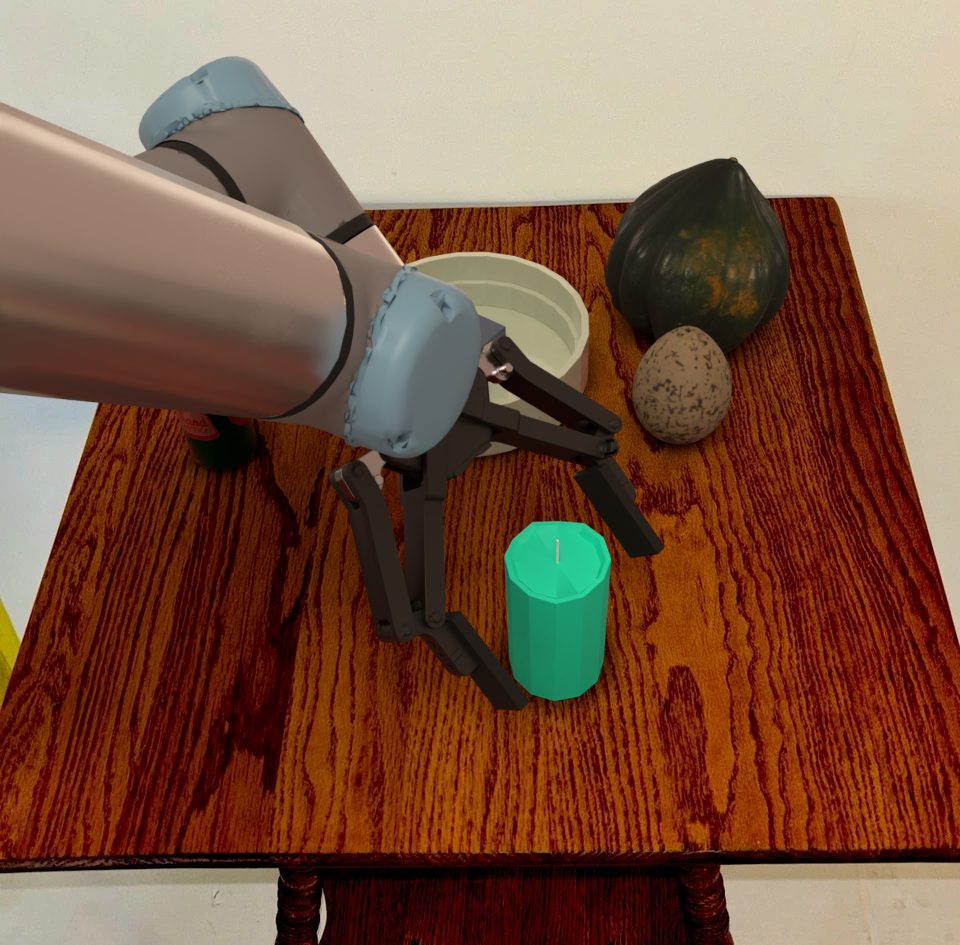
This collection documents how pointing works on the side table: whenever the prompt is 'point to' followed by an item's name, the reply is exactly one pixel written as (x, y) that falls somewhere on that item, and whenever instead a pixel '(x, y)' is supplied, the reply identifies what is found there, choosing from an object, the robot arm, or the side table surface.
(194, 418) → the soda can
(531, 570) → the candle
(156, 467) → the side table surface
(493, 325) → the block
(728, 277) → the squash
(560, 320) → the bowl
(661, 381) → the decorative egg
